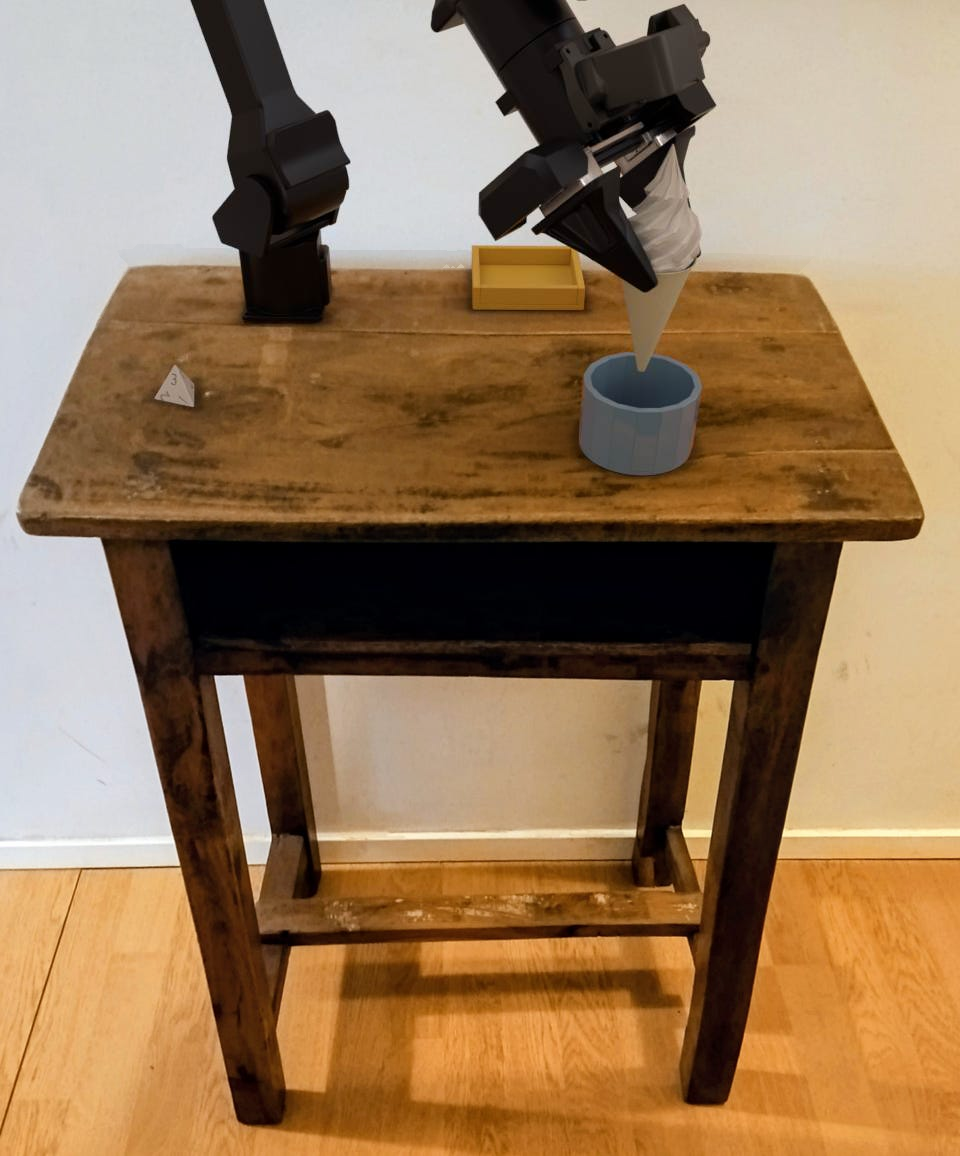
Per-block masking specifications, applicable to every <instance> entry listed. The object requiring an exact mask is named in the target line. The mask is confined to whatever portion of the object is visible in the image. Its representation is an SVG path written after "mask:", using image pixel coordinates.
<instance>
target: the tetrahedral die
mask: <svg viewBox="0 0 960 1156" xmlns="http://www.w3.org/2000/svg"><path fill="white" fill-rule="evenodd" d="M154 400H157V401H163V402H167V403H172V404H178V405H182V406H186V407H192V408H193V407H195V383H194V382H193V381H192V380H191V379H190V378H189V377H188V376H187V375H186V374H185V373H184V371H182V370H181V368H180V367H179V366H177V365H176V364H174V365H173V367H172V368H171V370H170V371H169V373H168V375H167V376H166V378H165V380H164V381H163V383H162V385H161V387H160V388H159V390H158V392H157V393H156V395H155V396H154Z"/></svg>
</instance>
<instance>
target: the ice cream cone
mask: <svg viewBox="0 0 960 1156" xmlns="http://www.w3.org/2000/svg"><path fill="white" fill-rule="evenodd" d="M644 189H645V192H646V194H647V197H646V198H645V200H644V201H643V202H642V203H641V204H639V205H638V206H636V207H635V208H633V209H631V211H632V212H633V213H635V214H634V215H632V216H630V217H627V218H628V220H629V222H630V224H631V226H632V228H633V230H634V232H635V233H636V235H637V237H638V239H639V241H640V243H641V245H642V247H643V249H644V251H645V253H646V255H647V257H648V259H649V261H650V263H651V265H652V268H653V270H654V272H655V275H656V277H657V280H658V285H657V286H656V287H655V288H653V289H652V290H650V291H649V292H647V293H643V292H642V291H640V290H638V289H637V288H635V287H634V286H632V285H631V284H629V283H627V282H626V281H624V280H623V279H621V284H622V290H623V296H624V301H625V307H626V313H627V318H628V325H629V330H630V335H631V340H632V346H633V352H634V353H635V358H636V364H637V370H638V371H640V372H643V371H645V369H646V367H647V365H648V363H649V360H650V358H651V356H652V354H654V352H655V350H656V347H657V346H658V343H659V341H660V338H661V336H662V335H663V332H664V330H665V328H666V325H667V324H668V321H669V319H670V317H671V314H672V311H673V310H674V308H675V306H676V304H677V301H678V299H679V296H680V295H681V293H682V290H683V288H684V285H685V283H686V282H687V279H688V277H689V275H690V273H691V270H692V268H694V267H695V265H696V264H697V261H698V258H697V257H696V256H697V255H699V252H700V250H701V245H700V241H701V238H702V235H703V232H702V227H701V223H700V219H699V216H698V215H697V214H696V213H695V212H694V211H693V210H692V208H691V209H690V208H689V206H688V201H687V198H688V197H689V196H690V191H689V189H688V187H687V184H686V185H685V183H684V181H683V178H682V175H681V172H680V168H679V165H678V161H677V156H676V151H675V147H674V144H672V146H671V148H670V150H669V152H668V153H667V155H666V157H665V159H664V161H663V163H662V165H661V166H660V168H659V170H658V172H657V174H656V176H655V178H654V179H653V180H652V181H651V182H650V183H649V184H648V185H647V186H646V187H645V188H644ZM636 213H637V214H636Z"/></svg>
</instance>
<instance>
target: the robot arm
mask: <svg viewBox="0 0 960 1156" xmlns="http://www.w3.org/2000/svg"><path fill="white" fill-rule="evenodd" d="M577 1H578V2H579V1H583V2H584V1H587V0H577ZM190 4H191V6H192V9H193V11H194V14H195V17H196V20H197V23H198V25H199V28H200V31H201V34H202V36H203V39H204V42H205V44H206V47H207V49H208V53H209V56H210V57H211V58H210V59H211V61H212V63H213V66H214V69H215V72H216V75H217V78H218V80H219V83H220V86H221V88H222V91H223V93H224V97H225V100H226V103H227V104H228V107H229V110H230V114H231V119H230V127H229V135H228V136H229V137H228V144H227V152H226V162H227V166H228V169H229V173H230V177H231V182H232V185H233V190H232V191H231V192H230V193H229V195H228V196H227V197H226V199H225V200H224V201H223V202H222V203H221V205H220V206H219V207H218V208H217V209H216V211H214V213H213V214H212V217H211V219H212V223H213V226H214V228H215V231H216V233H217V236H218V238H219V241H220V243H221V244H222V245H224V246H227V247H231V248H233V249H236V250H238V257H239V265H240V272H241V273H240V274H241V281H242V287H243V296H244V305H243V307H242V308H243V309H242V311H241V320H242V321H243V322H248V323H249V322H253V323H254V322H255V323H256V322H257V323H258V322H259V323H261V322H262V323H267V322H268V323H271V322H272V323H278V322H279V323H291V322H292V323H319V322H322V321H323V320H324V315H325V311H326V306H329V305H330V303H331V299H332V294H333V281H332V280H333V279H332V269H331V267H332V265H331V255H330V246H329V245H327V244H323V242H322V229H324V228H326V227H328V226H330V227H331V226H334V225H336V223H337V221H338V217H339V212H340V209H341V205H342V204H343V203H344V201H345V198H346V194H347V191H349V190H350V177H349V172H348V168H347V166H349V165H351V159H350V158H349V156H348V154H347V153H346V152H345V149H344V147H343V144H342V142H341V138H340V135H339V132H338V126H337V122H336V121H337V120H336V119H335V117H334V115H333V114H332V112H331V111H330V110H328V109H325V110H322V111H320V112H317V113H316V112H315V111H314V110H313V109H312V108H311V107H310V105H309V104H307V103H306V101H304V100H303V98H301V97H300V96H299V95H298V94H297V92H296V91H297V90H295V87H294V85H293V84H294V83H293V81H292V79H291V75H290V73H289V70H288V66H287V64H286V61H285V58H284V55H283V52H282V49H281V46H280V43H279V41H278V37H277V34H276V31H275V28H274V25H273V23H272V19H271V16H270V14H269V11H268V7H267V5H266V2H265V0H190ZM463 25H464V26H465V27H466V29H467V30H468V32H469V33H470V35H471V38H472V39H473V40H474V42H475V44H476V45H477V47H478V48H479V50H480V52H481V53H482V55H483V57H484V58H485V60H486V61H487V63H488V65H489V67H490V68H491V70H492V71H493V73H494V74H495V76H496V77H497V79H498V81H499V83H500V84H501V86H502V87H503V89H504V93H503V94H502V95H500V97H499V98H498V99H497V100H495V102H494V103H495V105H496V106H497V108H498V109H499V111H500V113H501V114H502V116H503V117H507V116H509V115H511V114H513V113H516V112H518V114H519V115H520V117H521V119H522V120H523V122H524V123H525V125H526V126H527V127H526V128H528V130H529V132H530V134H531V135H532V136H533V138H534V140H535V141H536V143H537V144H538V145H536V146H535V147H531V148H530V149H528V150H525V151H524V152H523V153H522V154H521V155H520V156H518V157H517V158H516V159H515V160H514V161H513V162H512V163H510V164H509V165H508V166H507V167H506V168H505V169H504V170H502V171H501V173H499V174H498V175H496V176H495V178H494V179H492V180H491V181H490V182H488V184H487V185H485V186H484V187H483V188H482V189H480V191H479V192H478V209H477V212H478V213H477V216H479V218H480V219H481V222H482V223H483V224H484V226H485V227H486V229H487V230H488V232H489V234H490V235H491V237H492V238H493V240H494V241H495V242H497V241H499V240H501V239H502V238H504V237H506V236H508V235H510V234H511V233H514V232H515V231H517V230H519V229H521V228H522V227H523V226H525V225H526V224H527V223H528V216H530V215H531V214H532V213H534V212H535V210H537V209H539V211H540V212H541V214H542V216H543V218H542V219H541V220H540V221H538V222H537V223H536V224H535V225H533V226H532V227H531V228H530V231H531V232H532V233H533V234H534V235H535V236H538V235H540V234H544V235H546V236H548V237H549V238H551V239H553V240H555V241H557V242H559V243H561V244H562V245H564V246H568V247H570V248H572V249H574V250H576V251H578V254H579V253H580V254H581V255H583V256H584V257H587V258H588V259H589V260H591V261H593V263H594V262H595V263H596V264H598V265H599V266H601V267H602V268H604V269H606V270H607V271H609V272H610V273H612V274H614V275H615V276H616V277H618V278H619V279H621V280H622V279H623V280H624V281H626V282H627V283H629V284H631V285H632V286H634V287H635V288H637V289H638V290H640V291H642V292H643V293H647V292H649V291H650V290H652V289H653V288H655V287H656V286H657V285H658V280H657V277H656V275H655V272H654V270H653V268H652V265H651V263H650V261H649V259H648V257H647V255H646V253H645V251H644V249H643V247H642V245H641V243H640V241H639V239H638V237H637V235H636V233H635V232H634V230H633V228H632V226H631V224H630V222H629V220H628V218H629V217H628V216H627V214H626V212H625V210H624V208H623V207H622V204H621V201H620V199H621V200H622V201H623V202H624V203H625V204H626V205H627V206H628V207H629V208H630V209H631V210H632V209H633V208H635V207H636V206H638V205H639V204H641V203H642V202H643V201H644V200H645V198H646V197H647V194H646V192H645V189H644V188H645V187H646V186H647V185H648V184H649V183H650V182H651V181H652V180H653V179H654V178H655V176H656V174H657V172H658V170H659V168H660V166H661V165H662V163H663V161H664V159H665V157H666V155H667V153H668V152H669V150H670V148H671V146H672V144H674V147H675V151H676V156H677V161H678V165H679V168H680V172H681V175H682V178H683V181H684V183H685V185H686V186H687V182H686V175H685V169H684V168H685V167H684V166H685V159H686V157H687V152H688V148H689V145H690V142H691V139H692V138H694V137H695V136H696V131H697V129H696V123H698V122H699V121H700V120H701V119H703V117H705V116H706V115H708V114H709V113H710V112H711V111H713V110H714V109H715V108H716V107H717V103H716V102H715V101H714V99H713V96H712V95H711V93H710V91H709V90H708V88H707V87H706V85H705V83H704V82H703V80H705V79H706V73H705V70H704V69H705V68H704V65H703V61H702V58H703V57H704V55H705V53H706V51H707V48H708V47H709V46H710V44H711V36H710V34H709V33H708V31H706V30H703V28H702V25H701V24H700V20H699V18H696V17H695V16H694V14H693V13H692V11H691V10H690V9H689V8H688V6H687V5H686V4H685V3H682V4H679V5H676V6H673V7H670V8H667V9H664V10H662V11H660V12H656V13H654V14H651V15H650V17H649V18H648V23H647V31H646V35H644V36H640V37H638V38H635V39H633V40H630V41H627V42H624V43H621V44H619V45H616V43H615V42H614V41H613V39H612V37H611V36H610V34H609V32H608V31H607V30H605V29H601V27H595V28H594V29H592V30H589V31H585V30H584V28H583V27H582V24H581V23H580V21H579V20H578V17H577V16H576V14H575V12H574V11H573V9H572V7H571V6H570V5H569V2H568V1H567V0H434V4H433V8H432V10H431V17H430V29H431V31H432V32H433V33H437V34H438V33H440V32H444V31H447V30H449V29H452V28H457V27H458V26H463ZM612 163H614V165H615V167H614V168H612V169H609V170H608V171H606V172H603V170H602V168H603V169H604V168H605V167H606V166H608V165H610V164H612ZM687 201H688V206H689V208H690V209H691V210H692V207H691V202H690V197H689V196H688V198H687ZM636 214H637V213H635V215H636ZM701 255H702V250H701V249H700V252H699V255H697V256H696V257H697V259H699V258H701Z"/></svg>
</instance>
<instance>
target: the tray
mask: <svg viewBox="0 0 960 1156" xmlns="http://www.w3.org/2000/svg"><path fill="white" fill-rule="evenodd" d="M585 285H586V284H585V280H584V276H583V270H582V265H581V260H580V255H579V252H578V251H576V250H574V249H572V248H570V247H568V246H567V245H484V244H483V245H482V244H481V245H480V244H479V245H477V244H476V245H475V244H473V245H471V297H472V298H471V301H472V302H471V303H472V304H471V305H472V310H477V311H478V310H479V311H481V310H483V311H485V310H487V311H488V310H490V311H492V310H493V311H495V310H496V311H498V310H499V311H515V310H516V311H584V309H585V307H584V306H585V296H586V286H585Z"/></svg>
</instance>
